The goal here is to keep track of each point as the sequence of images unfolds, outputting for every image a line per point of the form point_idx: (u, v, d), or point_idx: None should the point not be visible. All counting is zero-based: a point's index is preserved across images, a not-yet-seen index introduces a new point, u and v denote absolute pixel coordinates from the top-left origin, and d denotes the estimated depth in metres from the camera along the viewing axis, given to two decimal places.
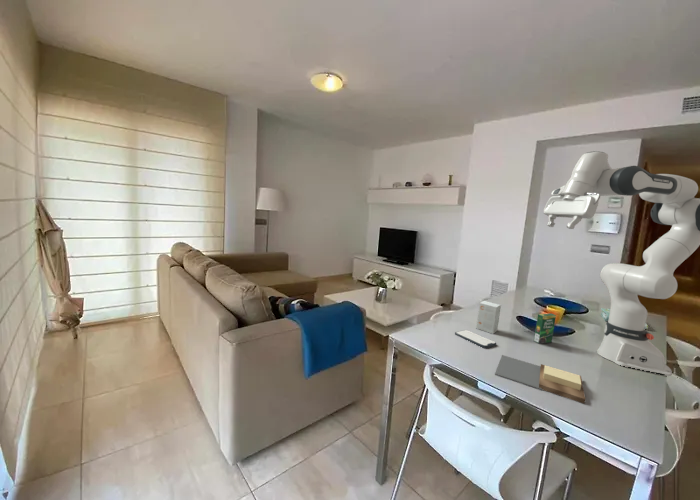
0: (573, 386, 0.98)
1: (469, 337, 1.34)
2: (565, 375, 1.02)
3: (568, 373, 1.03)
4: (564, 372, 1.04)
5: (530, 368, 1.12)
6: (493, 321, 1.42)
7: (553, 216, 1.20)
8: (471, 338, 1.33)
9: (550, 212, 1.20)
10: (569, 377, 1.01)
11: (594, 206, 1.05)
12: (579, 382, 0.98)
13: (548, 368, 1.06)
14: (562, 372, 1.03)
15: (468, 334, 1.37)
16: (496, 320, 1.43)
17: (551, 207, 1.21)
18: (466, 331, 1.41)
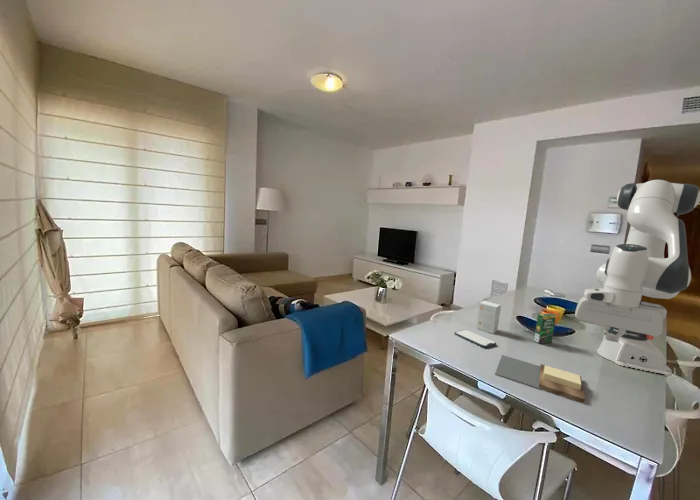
0: (573, 386, 0.98)
1: (469, 337, 1.34)
2: (565, 375, 1.02)
3: (568, 373, 1.03)
4: (564, 372, 1.04)
5: (530, 368, 1.12)
6: (493, 321, 1.42)
7: (609, 327, 0.95)
8: (471, 338, 1.33)
9: (592, 321, 0.96)
10: (569, 377, 1.01)
11: None
12: (579, 382, 0.98)
13: (548, 368, 1.06)
14: (562, 372, 1.03)
15: (468, 334, 1.37)
16: (496, 320, 1.43)
17: (590, 314, 0.96)
18: (466, 331, 1.41)
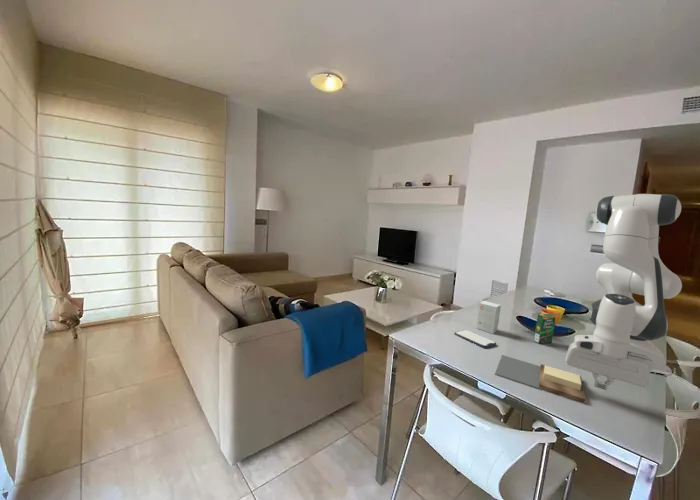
0: (573, 386, 0.98)
1: (469, 337, 1.34)
2: (565, 375, 1.02)
3: (568, 373, 1.03)
4: (564, 372, 1.04)
5: (530, 368, 1.12)
6: (493, 321, 1.42)
7: (598, 374, 0.97)
8: (471, 338, 1.33)
9: (581, 368, 0.98)
10: (569, 377, 1.01)
11: None
12: (579, 382, 0.98)
13: (548, 368, 1.06)
14: (562, 372, 1.03)
15: (467, 334, 1.37)
16: (496, 320, 1.43)
17: (580, 361, 0.98)
18: (466, 331, 1.41)
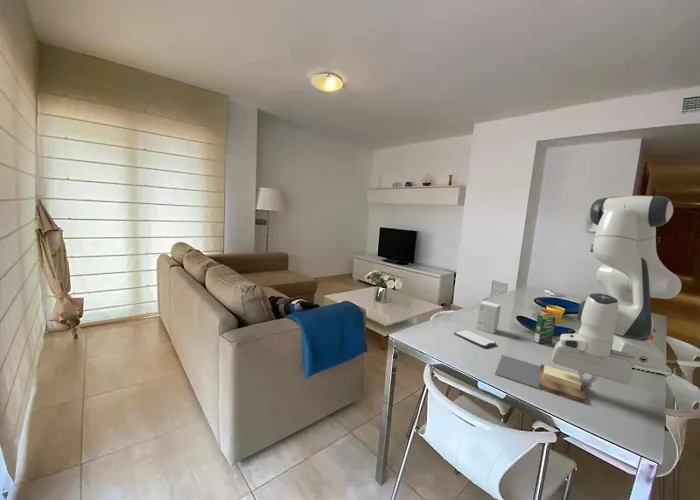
0: (573, 386, 0.98)
1: (468, 337, 1.34)
2: (565, 374, 1.02)
3: (568, 373, 1.03)
4: (564, 372, 1.04)
5: (530, 368, 1.12)
6: (493, 321, 1.42)
7: None
8: (471, 338, 1.33)
9: (567, 366, 1.00)
10: (568, 377, 1.01)
11: None
12: (579, 382, 0.98)
13: (548, 368, 1.06)
14: (561, 372, 1.03)
15: (467, 334, 1.37)
16: (496, 320, 1.43)
17: (565, 360, 1.00)
18: (466, 331, 1.41)
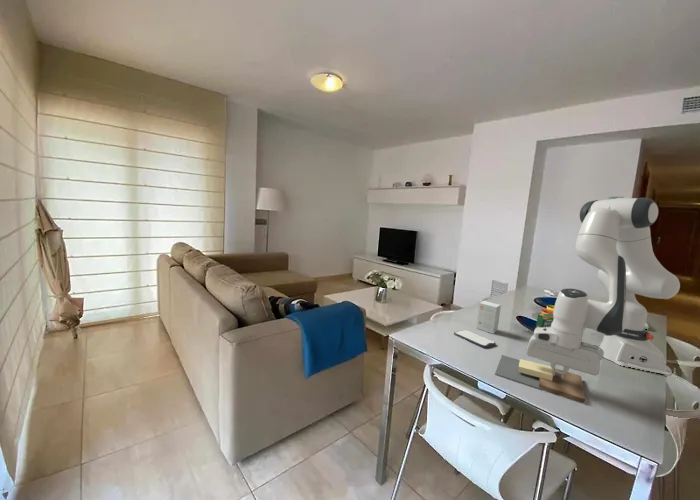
0: (545, 377, 1.02)
1: (468, 337, 1.34)
2: (539, 367, 1.06)
3: (542, 365, 1.08)
4: (538, 364, 1.08)
5: None
6: (493, 321, 1.42)
7: (555, 364, 1.03)
8: (470, 338, 1.33)
9: (540, 358, 1.04)
10: (542, 369, 1.05)
11: None
12: (551, 373, 1.02)
13: (523, 361, 1.10)
14: (535, 365, 1.08)
15: (467, 334, 1.37)
16: (496, 320, 1.43)
17: (539, 352, 1.04)
18: (465, 331, 1.41)
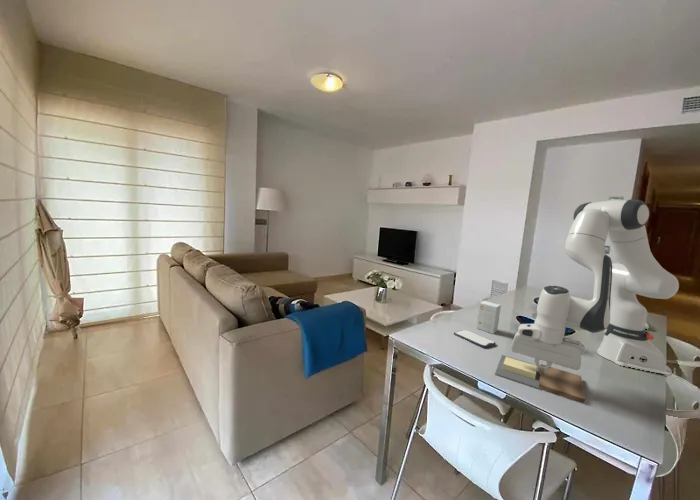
0: (529, 375, 1.05)
1: (468, 337, 1.34)
2: (523, 365, 1.09)
3: (526, 364, 1.10)
4: (522, 363, 1.11)
5: None
6: (493, 321, 1.42)
7: (539, 359, 1.06)
8: (470, 338, 1.33)
9: (524, 354, 1.07)
10: (526, 367, 1.08)
11: None
12: (534, 372, 1.05)
13: (508, 359, 1.12)
14: (520, 363, 1.10)
15: (467, 334, 1.37)
16: (496, 320, 1.43)
17: (523, 348, 1.07)
18: (465, 330, 1.41)
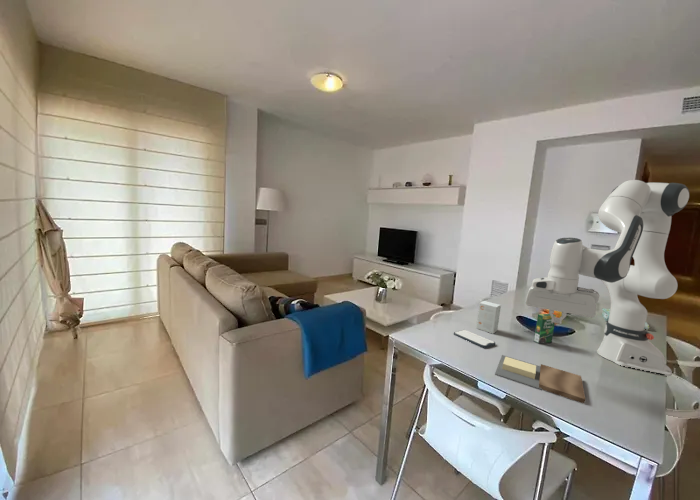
0: (528, 375, 1.05)
1: (468, 337, 1.34)
2: (523, 365, 1.09)
3: (526, 363, 1.10)
4: (522, 363, 1.11)
5: None
6: (493, 321, 1.42)
7: (553, 311, 1.07)
8: (470, 338, 1.33)
9: (539, 306, 1.08)
10: (525, 367, 1.08)
11: None
12: (534, 371, 1.05)
13: (508, 359, 1.13)
14: (520, 363, 1.10)
15: (467, 334, 1.37)
16: (496, 320, 1.43)
17: (537, 301, 1.08)
18: (465, 330, 1.41)
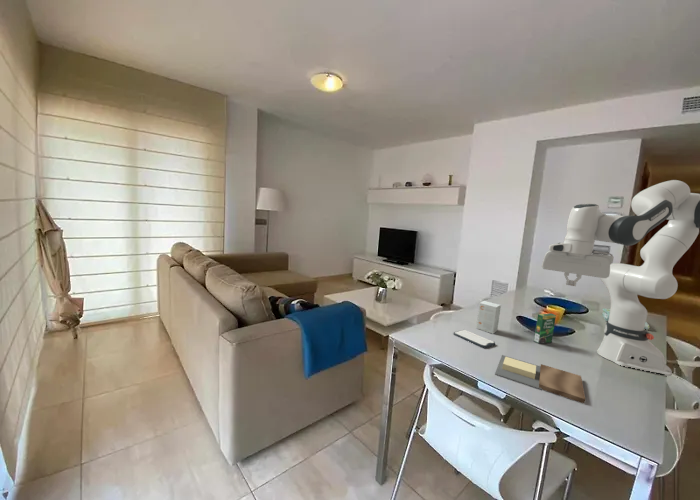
0: (528, 375, 1.05)
1: (468, 337, 1.34)
2: (523, 365, 1.09)
3: (526, 363, 1.10)
4: (522, 363, 1.11)
5: None
6: (493, 321, 1.42)
7: None
8: (470, 338, 1.33)
9: (554, 269, 1.14)
10: (525, 367, 1.08)
11: None
12: (534, 371, 1.05)
13: (508, 359, 1.13)
14: (520, 363, 1.10)
15: (467, 334, 1.37)
16: (496, 320, 1.43)
17: (553, 264, 1.14)
18: (465, 330, 1.41)
